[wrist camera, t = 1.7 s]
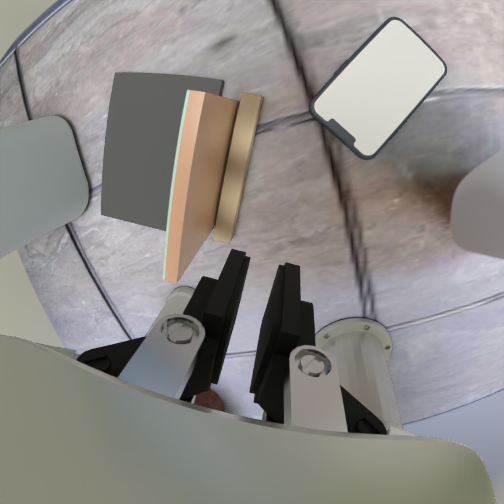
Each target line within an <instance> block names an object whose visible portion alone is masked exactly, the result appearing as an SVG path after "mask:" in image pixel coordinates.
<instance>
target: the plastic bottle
mask: <svg viewBox="0 0 504 504" xmlns="http://www.w3.org/2000/svg"><path fill="white" fill-rule="evenodd" d="M88 199H89V187H88V182H87V179H86V176H85V173H84V170H83V167H82V163H81V160H80V157H79V153H78V150H77V146H76V143H75V139H74V136H73V132H72V130H71V128H70V126H69V124H68V123H67V122H66V121H65V120H64V119H63V118H61V117H59V116H54V115H51V116H46V117H42V118H38V119H34V120H30V121H27V122H23V123H20V124H16V125H13V126H9V127H6V128H3V129H0V259H1V258H3V257H4V256H6V255H7V254H9V253H11V252H13V251H15V250H17V249H19V248H20V247H22V246H24V245H26V244H28V243H30V242H31V241H33V240H35V239H37V238H39V237H41V236H43V235H45V234H47V233H49V232H51V231H53V230H55V229H57V228H59V227H61V226H63V225H65V224H67V223H69V222H71V221H73V220H75V219H77V218H78V217H80V216H81V214H82V213H83V212H84V210H85V209H86V206H87V204H88Z"/></svg>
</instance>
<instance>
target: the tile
mask: <svg viewBox="0 0 504 504" xmlns="http://www.w3.org/2000/svg"><path fill="white" fill-rule="evenodd" d="M237 107H238V101H235V100H231V99H228V98H225V97H221V96H218V95H214V94H210V93H207V92H201V91H193V90H187V93H186V98H185V103H184V108H183V114H182V119H181V125H180V131H179V137H178V143H177V149H176V155H175V162H174V169H173V176H172V184H171V192H170V200H169V209H168V218H167V228H166V238H165V250H164V263H163V278H162V280H166V281H169V282H173V283H176V284H177V282H178V281H179V279H180V278H181V276H182V275H183V273H184V272H185V270H186V268H187V267H188V265H189V264H190V262H191V261H192V259H193V258H194V256H195V255H196V253H197V252H198V250H199V249H200V247H201V246H202V244H203V243H204V241H205V240H206V238H207V237H208V236H209V234H210V233H211V231H212V230H213V228H214V224H215V218H216V212H217V207H218V201H219V196H220V191H221V185H222V180H223V175H224V170H225V164H226V159H227V154H228V149H229V144H230V140H231V135H232V130H233V125H234V121H235V116H236V111H237Z"/></svg>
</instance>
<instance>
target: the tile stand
mask: <svg viewBox="0 0 504 504" xmlns="http://www.w3.org/2000/svg"><path fill="white" fill-rule="evenodd" d="M263 98H264V97H262V96H260V95H255V94H249V93H244V92H242V95H241V100H240V102H238V107H237V111H236V116H235V121H234V125H233V130H232V135H231V140H230V144H229V149H228V154H227V159H226V164H225V170H224V175H223V180H222V185H221V191H220V196H219V201H218V207H217V212H216V218H215V224H214V226H215V231H214V237H213V240H217V241H221V242H225V243H229V244H230V242H231V240H232V238H233V235H234V231H235V226H236V221H237V216H238V211H239V207H240V202H241V197H242V192H243V188H244V183H245V178H246V174H247V169H248V164H249V160H250V155H251V151H252V146H253V142H254V137H255V133H256V128H257V124H258V120H259V115H260V111H261V106H262V102H263Z"/></svg>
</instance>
